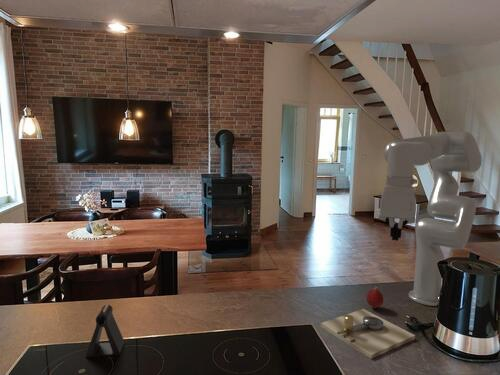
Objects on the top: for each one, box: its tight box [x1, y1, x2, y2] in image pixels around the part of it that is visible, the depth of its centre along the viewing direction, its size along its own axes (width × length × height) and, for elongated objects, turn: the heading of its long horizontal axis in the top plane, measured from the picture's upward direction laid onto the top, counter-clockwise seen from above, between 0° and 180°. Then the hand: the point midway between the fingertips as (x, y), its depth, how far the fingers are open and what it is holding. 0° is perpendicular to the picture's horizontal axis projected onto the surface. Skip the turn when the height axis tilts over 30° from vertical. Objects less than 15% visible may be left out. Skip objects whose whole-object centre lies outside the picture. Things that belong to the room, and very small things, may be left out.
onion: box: [365, 286, 385, 309], centre depth 127 cm, size 6×6×8 cm
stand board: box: [320, 308, 416, 360], centre depth 110 cm, size 20×20×2 cm
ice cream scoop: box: [339, 314, 383, 334], centre depth 109 cm, size 16×6×5 cm, turn 114°
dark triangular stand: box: [85, 304, 125, 358], centre depth 99 cm, size 9×6×12 cm, turn 98°
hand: (395, 239), depth 111 cm, fingers closed
